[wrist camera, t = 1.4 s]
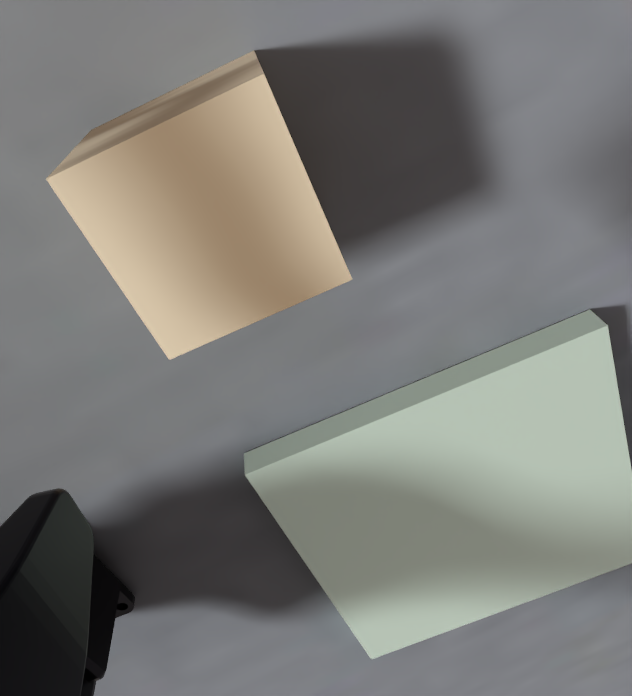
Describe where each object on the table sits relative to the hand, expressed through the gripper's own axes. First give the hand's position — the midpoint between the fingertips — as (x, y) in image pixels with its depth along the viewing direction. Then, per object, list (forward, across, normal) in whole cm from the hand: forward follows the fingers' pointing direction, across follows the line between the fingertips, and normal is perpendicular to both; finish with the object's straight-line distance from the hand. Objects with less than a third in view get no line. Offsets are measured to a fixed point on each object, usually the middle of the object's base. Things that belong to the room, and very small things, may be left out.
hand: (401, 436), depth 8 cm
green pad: (+12, -3, +16) cm, 20 cm away
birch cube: (+12, +3, 0) cm, 12 cm away
